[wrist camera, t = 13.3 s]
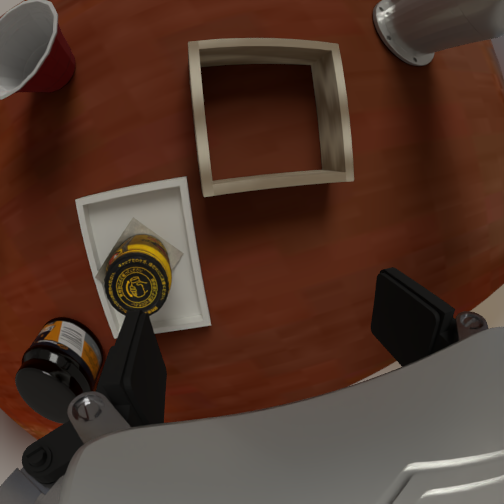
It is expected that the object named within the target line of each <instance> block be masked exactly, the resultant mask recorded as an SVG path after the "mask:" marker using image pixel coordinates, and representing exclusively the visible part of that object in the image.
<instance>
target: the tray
mask: <svg viewBox="0 0 504 504" xmlns="http://www.w3.org/2000/svg"><path fill="white" fill-rule="evenodd" d="M75 201H76V207H77V212H78V217H79V222H80V226H81V231H82V235H83V240H84V244H85V248H86V252H87V256H88V259H89V263H90V267H91V270H92V274H93V277H94V281H95V284H96V287H97V290H98V294H99V297H100V300H101V303H102V306H103V309H104V312H105V314H106V317H107V320H108V323H109V326H110V328H111V331H112V334H113V336H114V338H118V335H119V332H120V329H121V327H122V324H123V321H124V319H125V315H123V314H121V313H120V312H118V311H117V310H116V309H115V308H113V306H112V305H111V304H110V301H109V300H108V299H107V295H106V293H105V288H104V283H103V282H101V281H99V280H98V279H96V278H95V277H96V275H97V273H98V271H99V270H100V268H101V266H102V265H103V263H104V261H105V260H106V258H107V257H108V255H109V253H110V252H111V250H112V248H113V247H114V245H115V244H116V242H117V241H118V239H119V238H120V236H121V235H122V233H123V231H124V230H125V228H126V227H127V225H128V224H129V222H130V221H131V220H132V218H133V217H134V218H135V219H136V220H138V221H139V222H141V223H142V224H143V225H145V226H146V227H147V228H149V229H150V230H152V231H153V232H154V233H156V234H157V235H159V236H160V237H161V238H163V239H164V240H166V241H167V242H168V243H170V244H171V245H173V246H174V247H175V248H177V249H178V250H180V251H181V252H182V253H184V254H183V255H182V257H181V258H180V259H179V261H178V262H177V264H176V265H175V267H174V268H173V270H172V283H171V288H170V291H169V294H168V297H167V300H166V302H165V303H164V304H163V306H162V308H161V309H160V310H159V311H158V312H156V313H154V314H152V315H151V316H149V317H150V321H151V324H152V327H153V331H154V334H156V333H163V332H170V331H177V330H184V329H190V328H197V327H203V326H209V325H211V321H210V315H209V309H208V304H207V299H206V294H205V289H204V283H203V278H202V272H201V266H200V261H199V255H198V249H197V243H196V237H195V230H194V224H193V217H192V211H191V204H190V197H189V189H188V182H187V176H185V177H179V178H173V179H167V180H161V181H156V182H150V183H145V184H140V185H135V186H130V187H125V188H120V189H115V190H111V191H106V192H102V193H98V194H93V195H89V196H85V197H82V198H79V199H76V200H75Z"/></svg>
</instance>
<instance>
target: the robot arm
mask: <svg viewBox="0 0 504 504" xmlns="http://www.w3.org/2000/svg"><path fill="white" fill-rule="evenodd" d="M373 20H374V24H375V27H376V30H377V32H378V34H379V36H380V37H381V39H382V41H383V42H384V43H385V45H386V46H387V47H388V48H389V49H390V51H391V52H392V53H394V54H395V55H396V56H397V57H398V58H399V59H401V60H402V61H404V62H406V63H408V64H410V65H413V66H423V65H426V64H428V63H429V62H431V60H432V59H433V56H434V52H437V51H441V50H445V49H448V48H452V47H456V46H460V45H465V44H469V43H474V42H478V41H483V40H488V39H493V38H498V37H501V36H503V35H504V0H382V1H381V2H379V3H378V4H377V5H376V6H375V8H374V11H373ZM454 311H455V309H454V308H453V307H451V306H450V305H448V304H447V303H446V302H444V301H443V300H441V299H440V298H438V297H437V296H436V295H434V294H433V293H431V292H430V291H428V290H427V289H425V288H424V287H423V286H421V285H420V284H418V283H417V282H415V281H414V280H412V279H411V278H409V277H408V276H406V275H405V274H403V273H402V272H400V271H399V270H397V269H396V268H388V269H383V270H381V271H380V274H378V276H377V282H376V291H375V300H374V307H373V315H372V322H371V331H372V333H373V335H374V336H375V337H376V338H377V339H378V340H379V341H380V342H381V344H382V345H383V346H384V347H385V348H386V349H387V350H388V351H389V352H390V353H391V355H392V356H393V357H394V358H395V359H396V360H397V361H398V362H399V364H401V366H402V367H401V368H398V369H396V370H393V371H391V372H388V373H385V374H383V375H380V376H377V377H375V378H372V379H369V380H366V381H363V382H361V383H358V384H355V385H352V386H348V387H345V388H342V389H339V390H336V391H332V392H329V393H326V394H322V395H319V396H315V397H311V398H308V399H304V400H300V401H296V402H292V403H288V404H283V405H279V406H275V407H270V408H265V409H260V410H255V411H250V412H244V413H239V414H232V415H226V416H219V417H212V418H205V419H196V420H188V421H180V422H171V423H164V407H165V391H166V377H167V373H166V367H165V364H164V361H163V358H162V355H161V352H160V349H159V346H158V343H157V340H156V337H155V334H154V331H153V327H152V324H151V321H150V317H149V315H148V313H144V312H143V311H142V310H135V311H128V312H127V313H126V316H125V319H124V321H123V324H122V327H121V329H120V332H119V335H118V338H117V340H116V343H115V346H112V347H111V348H110V350H109V353H108V356H107V359H106V362H105V365H104V367H103V370H102V373H101V376H100V379H99V383H98V386H97V389H96V392H92V391H91V392H85V393H83V394H80V395H78V396H77V397H75V398H74V399H73V400H72V401H71V403H70V405H69V407H68V417H69V419H70V420H69V421H68V422H66V423H65V424H63V425H61V426H60V427H58V428H57V429H55V430H53V431H52V432H50V433H49V434H47V435H45V436H44V437H42V438H41V439H39V440H37V441H36V442H34V443H32V444H31V445H30V446H28V447H27V448H26V450H25V451H24V453H23V456H22V464H23V468H22V469H21V470H19V469H18V468H16V469H15V471H14V472H13V473H12V474H11V475H10V476H9V477H8V478H7V479H6V480H5V481H4V483H3V484H2V485H1V486H0V504H504V327H496V328H490V329H488V325H487V322H486V320H485V319H484V318H483V317H482V316H481V315H479V314H477V313H474V312H470V311H465V312H461V313H459V314H458V315H457V316H456V319H454V318H453V314H454Z"/></svg>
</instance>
